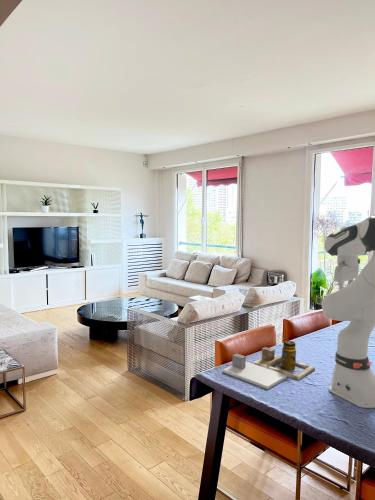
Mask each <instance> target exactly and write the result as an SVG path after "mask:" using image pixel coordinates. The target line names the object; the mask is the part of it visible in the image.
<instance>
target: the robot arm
mask: <svg viewBox="0 0 375 500" xmlns="http://www.w3.org/2000/svg"><path fill="white" fill-rule="evenodd" d="M324 249H325V251H326V252H327V253H328V254H329V255H330V256H332V257H333V256H336V257H337V258H336V259H337V260H336V266H335V269H334V275H333V281H334V282H336V283H337V284H338V285H337V286H338V290H336V291H334V292H333V293H329V294H327V295H325V296H324V298H323V299H322V303H321V310H322V312H323V315H324V316H325V317H326V318H327V319H329V320H332V321H333V320H334V321H338V322H349V323H348V324H347V326H345V327H344V328H342V329H341V330H340V331H339V332H338V334H337V341H336V342H337V343H336V344H337V346H336V351H335V354H334V361H335V365H334V368H333V370H332V375H331V376H332V377H331V382H330V386H329V387H328V391H329V392H330V393H332V394H334V395H336V396H338V397H340V398H342V399H343V400H345V401H347V402H348V403H351V404H353V405H355V406H357V407H359V408H365V409H375V373H374V372H373V370H372V369H371V366H372V364H373V362H372V361H370V360H369V356H368V352H369V350H368V349H369V342H370V341H369V340H370V337H371V334H372V332H373V330H374V329H375V213H373V214H371V216H368V217H367V218H366V219H363V220H362V221H359V222H357V223H354V224H351V225H347V226H342V227H340V230H339V231H338V232H336V233H330V234H328V236H327V237H326V238H325V240H324ZM368 252H369V253H371V252H372V255H371V258H370V259H369V260H368V262H367V263H366V264H365V266H364V267H363V268H362V270H361V271H360V264H361V259H360V258H359V257H360V256H365V255H366V254H367V253H368ZM359 271H360V272H359ZM345 282H347V284H346V285H345V286H344V283H345Z"/></svg>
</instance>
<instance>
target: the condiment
mask: <svg viewBox="0 0 375 500" xmlns="http://www.w3.org/2000/svg"><path fill="white" fill-rule="evenodd" d="M296 345H297V344H296V342H295V341H293V340H285V341H283V345H282V346H283V347H282V349H281V356H282V362H281V363H280V364H277V365H275V366H274V367H275V368H277V369H280V370H283V371H286V372H295V371H296V372H298V371H299V369H298V368H296V365H295V362H297V361H296V358H297V357H296V356H297V348H296Z"/></svg>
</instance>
